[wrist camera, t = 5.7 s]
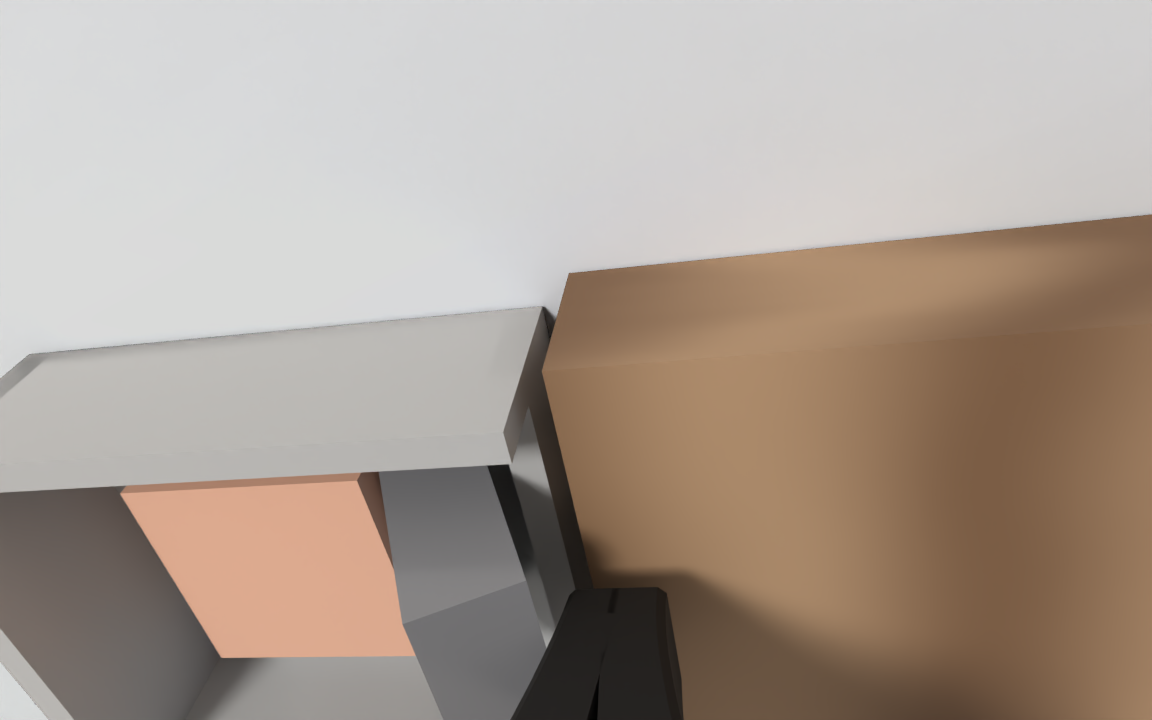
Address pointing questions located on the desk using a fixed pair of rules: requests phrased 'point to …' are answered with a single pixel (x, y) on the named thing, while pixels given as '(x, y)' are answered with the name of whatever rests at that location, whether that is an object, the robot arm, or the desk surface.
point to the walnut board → (877, 470)
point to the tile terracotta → (280, 562)
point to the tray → (245, 451)
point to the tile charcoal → (461, 590)
